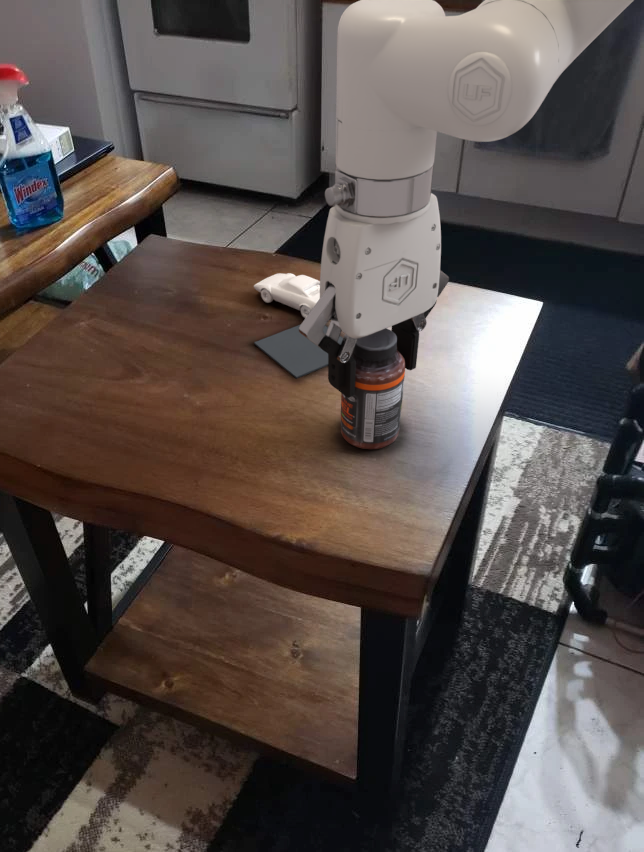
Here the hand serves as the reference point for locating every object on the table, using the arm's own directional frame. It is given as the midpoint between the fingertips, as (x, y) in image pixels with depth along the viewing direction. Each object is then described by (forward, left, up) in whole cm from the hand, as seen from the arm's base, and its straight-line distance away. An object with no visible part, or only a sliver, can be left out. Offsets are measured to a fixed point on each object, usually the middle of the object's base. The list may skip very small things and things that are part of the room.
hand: (372, 375), depth 71 cm
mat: (-4, -17, -7) cm, 19 cm away
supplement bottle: (0, 0, -7) cm, 7 cm away
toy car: (-9, -26, -7) cm, 28 cm away
